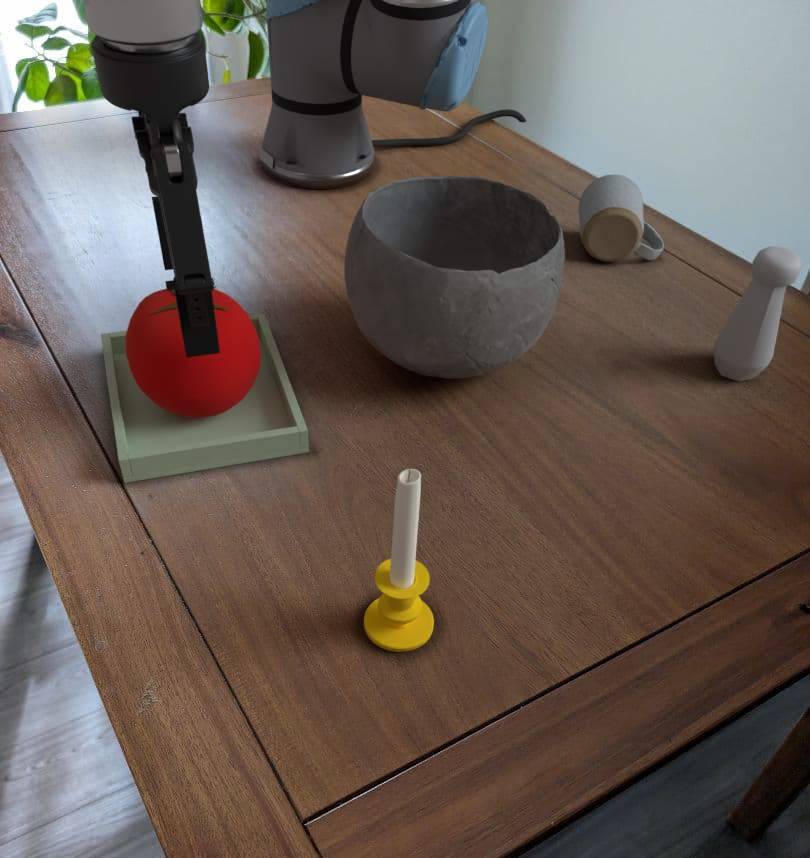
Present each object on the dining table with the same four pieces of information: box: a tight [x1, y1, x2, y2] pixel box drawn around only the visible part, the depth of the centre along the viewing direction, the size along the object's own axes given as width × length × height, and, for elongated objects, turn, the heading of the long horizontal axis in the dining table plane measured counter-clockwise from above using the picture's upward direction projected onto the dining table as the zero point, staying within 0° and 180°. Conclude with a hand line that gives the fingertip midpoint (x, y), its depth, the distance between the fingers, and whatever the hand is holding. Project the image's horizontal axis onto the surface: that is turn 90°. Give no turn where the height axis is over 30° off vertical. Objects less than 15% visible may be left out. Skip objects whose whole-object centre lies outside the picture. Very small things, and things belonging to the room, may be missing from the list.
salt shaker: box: [713, 246, 803, 382], centre depth 84 cm, size 6×6×13 cm
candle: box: [363, 468, 435, 653], centre depth 58 cm, size 5×5×16 cm
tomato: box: [125, 285, 261, 418], centre depth 77 cm, size 12×12×10 cm
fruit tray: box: [100, 313, 310, 484], centre depth 80 cm, size 16×19×3 cm
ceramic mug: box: [578, 174, 665, 263], centre depth 102 cm, size 11×8×8 cm
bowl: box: [343, 175, 566, 380], centre depth 83 cm, size 20×20×15 cm
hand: (190, 307), depth 74 cm, fingers open, 13 cm apart
